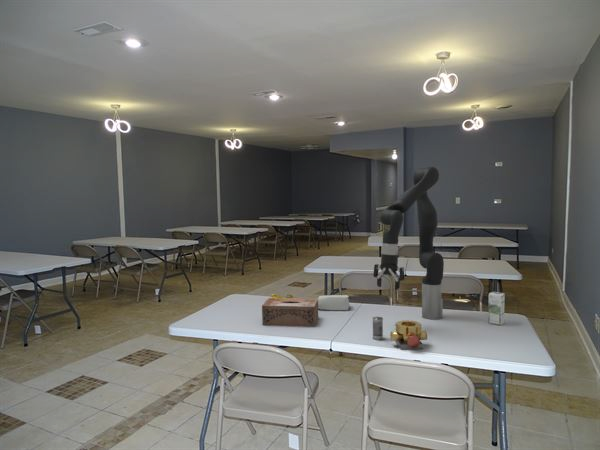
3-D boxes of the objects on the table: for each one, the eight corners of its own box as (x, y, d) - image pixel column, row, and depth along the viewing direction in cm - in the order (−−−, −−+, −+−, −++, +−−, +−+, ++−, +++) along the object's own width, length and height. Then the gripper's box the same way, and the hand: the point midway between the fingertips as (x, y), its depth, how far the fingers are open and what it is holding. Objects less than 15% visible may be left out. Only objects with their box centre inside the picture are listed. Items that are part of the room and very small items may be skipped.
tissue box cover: (262, 325, 200) (261, 305, 200) (269, 316, 214) (269, 298, 214) (314, 327, 196) (314, 306, 195) (318, 318, 210) (318, 299, 209)
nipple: (381, 336, 181) (381, 316, 180) (383, 339, 177) (383, 319, 176) (371, 336, 181) (371, 316, 180) (373, 340, 177) (373, 319, 176)
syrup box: (504, 322, 196) (505, 292, 195) (500, 325, 192) (501, 295, 190) (492, 320, 200) (492, 291, 199) (487, 323, 195) (488, 293, 194)
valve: (422, 340, 175) (422, 319, 174) (431, 351, 163) (431, 329, 162) (388, 341, 175) (388, 320, 174) (395, 352, 163) (395, 330, 162)
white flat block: (308, 295, 247) (307, 295, 222) (346, 294, 246) (349, 295, 221) (308, 308, 246) (307, 310, 221) (347, 308, 245) (350, 310, 220)
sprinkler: (286, 312, 222) (305, 302, 238) (285, 300, 221) (304, 291, 238) (254, 310, 233) (275, 301, 250) (253, 299, 233) (273, 290, 250)
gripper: (407, 254, 188) (405, 289, 188) (379, 251, 196) (377, 284, 197) (401, 255, 182) (399, 291, 182) (372, 252, 190) (370, 286, 191)
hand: (387, 288), depth 189 cm, fingers open, 8 cm apart
